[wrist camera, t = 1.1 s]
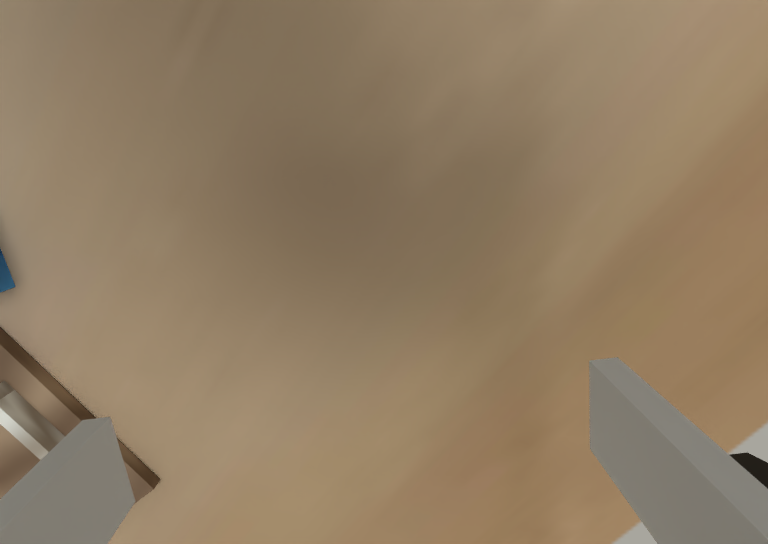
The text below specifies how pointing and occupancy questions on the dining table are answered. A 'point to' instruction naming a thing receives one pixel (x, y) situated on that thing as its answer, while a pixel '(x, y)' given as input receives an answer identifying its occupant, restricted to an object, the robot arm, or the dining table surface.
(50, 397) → the brown board with frame
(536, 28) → the dining table surface
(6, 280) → the perfume bottle
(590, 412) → the robot arm
